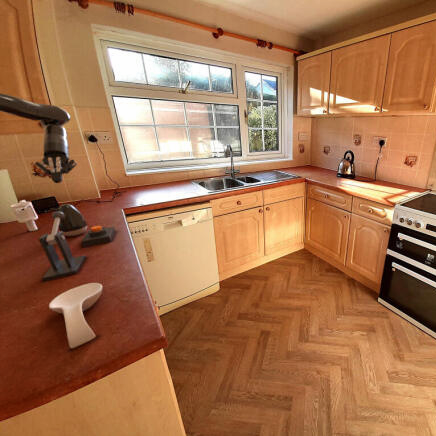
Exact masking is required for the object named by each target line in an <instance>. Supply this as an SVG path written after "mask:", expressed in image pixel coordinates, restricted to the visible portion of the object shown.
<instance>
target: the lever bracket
mask: <svg viewBox="0 0 436 436" xmlns="http://www.w3.org/2000/svg"><path fill="white" fill-rule="evenodd" d="M47 235H49V233H43V234H42V235H40V237H39V238H38V242H39V243H40V245H41V248H42V250H43V251H44V253H45V255H46V258H47V260H48V262H49V264H50V265H51V266H49V267H50V268H48V270H47V271H46V272H45V273H44V275H43V276H42V281H43V282H46V281H51V280H55V279H59V278H63V277H68V276H71V275H76V274H78V272H79V270H80V268H82V265H83V264H84V261H86V258H87V257H86V255H85V254H83V255H78V256H74V255H73V253H72V250H71V248H70V246H69V243H68V241H67V239H66V237H65V235H64V234H63V232H62V231H60V230H59V231H57V234H56V235H55V236H54V237H55V240H56V242H57V244H56V245H57V246H58V249H59V251H60V254H61V256H62V257H63V259H60V257H59V255H58V253H57V251H56V249H55V247H54V244H53V245H49V244H48V242H47V241H46V239H47Z"/></svg>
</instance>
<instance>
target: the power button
mask: <svg viewBox="0 0 436 436" xmlns="http://www.w3.org/2000/svg"><path fill="white" fill-rule="evenodd" d="M101 227H102V225H95V226H92V227H90V230H92V232H97V231H100V230H102V228H101Z"/></svg>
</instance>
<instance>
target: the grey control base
mask: <svg viewBox="0 0 436 436" xmlns="http://www.w3.org/2000/svg"><path fill="white" fill-rule="evenodd" d="M101 228H102V230H100V231H97V232H92V230H91V229H90V230H88V231H86V234H85V235H84V237H83V238H82V239H81V241H80V242H81V245H82V248H86V247H90V246H95V245H100V244H107V243H110V242H112V241H113V238H114V236H115V234H116V229H115V226H109V227H106V226H101Z"/></svg>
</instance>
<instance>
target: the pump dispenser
mask: <svg viewBox="0 0 436 436" xmlns="http://www.w3.org/2000/svg"><path fill="white" fill-rule="evenodd" d="M49 211H50V212H56V211H60V212H63V213H64V218H63V219H62V220H60V222H59V226H58V230H59V231H62V232H63V234H64V236H66V237H77V236H80V235H82V234H84V233H85V232H87V229H88V222H87V220H86V218H85V217H84V215H83V214H82V213H81V211H79V209H78V208H77V207H75V206H74V205H72V204H69V203H64V204H61V205H60V206H59V207H58V208H52V207H51V208H50V210H49Z"/></svg>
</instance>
